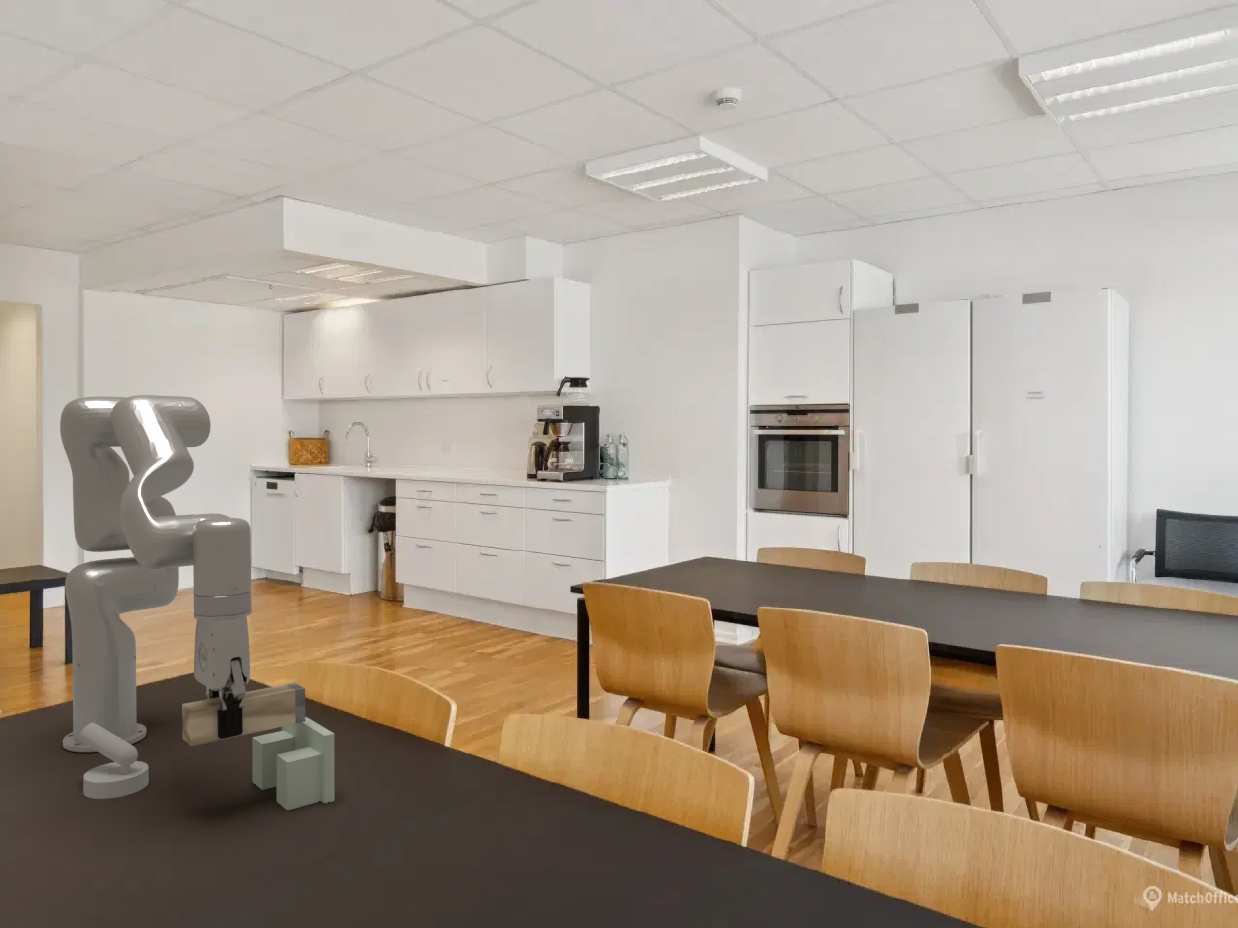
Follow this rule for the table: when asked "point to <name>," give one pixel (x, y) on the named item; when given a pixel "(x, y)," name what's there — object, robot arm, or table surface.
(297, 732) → the sage panel with pillars
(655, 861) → the table surface
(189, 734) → the rail
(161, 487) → the robot arm
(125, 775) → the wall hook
